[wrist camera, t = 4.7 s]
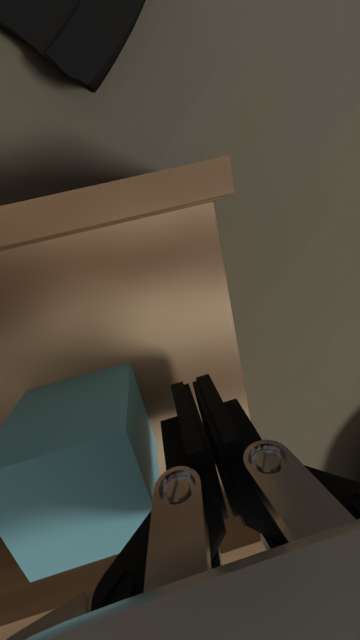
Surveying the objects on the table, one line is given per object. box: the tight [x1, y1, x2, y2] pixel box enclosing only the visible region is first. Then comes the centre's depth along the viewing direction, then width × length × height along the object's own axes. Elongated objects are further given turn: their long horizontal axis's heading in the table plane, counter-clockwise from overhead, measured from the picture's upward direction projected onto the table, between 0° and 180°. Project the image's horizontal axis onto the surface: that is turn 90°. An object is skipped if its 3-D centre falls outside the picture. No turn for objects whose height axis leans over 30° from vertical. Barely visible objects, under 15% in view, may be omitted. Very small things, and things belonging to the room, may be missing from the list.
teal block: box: [0, 362, 159, 582], centre depth 11 cm, size 4×4×4 cm
